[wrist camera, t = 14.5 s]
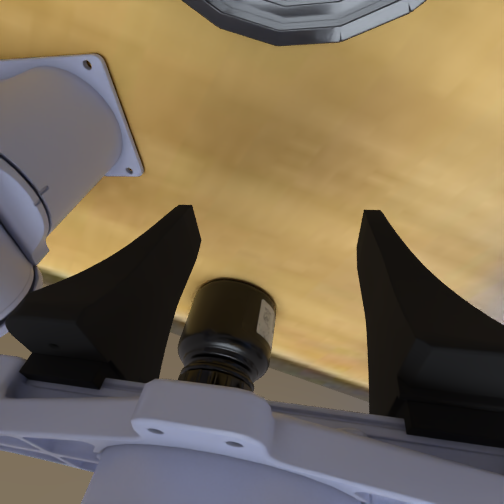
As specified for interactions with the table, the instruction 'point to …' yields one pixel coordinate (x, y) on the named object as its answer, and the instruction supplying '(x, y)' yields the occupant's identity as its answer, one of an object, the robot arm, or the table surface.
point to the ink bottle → (227, 335)
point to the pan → (301, 18)
